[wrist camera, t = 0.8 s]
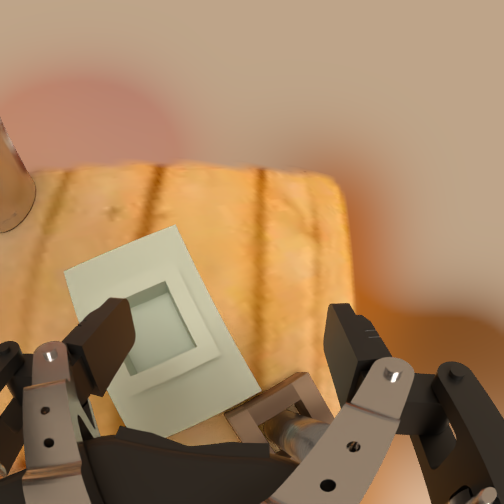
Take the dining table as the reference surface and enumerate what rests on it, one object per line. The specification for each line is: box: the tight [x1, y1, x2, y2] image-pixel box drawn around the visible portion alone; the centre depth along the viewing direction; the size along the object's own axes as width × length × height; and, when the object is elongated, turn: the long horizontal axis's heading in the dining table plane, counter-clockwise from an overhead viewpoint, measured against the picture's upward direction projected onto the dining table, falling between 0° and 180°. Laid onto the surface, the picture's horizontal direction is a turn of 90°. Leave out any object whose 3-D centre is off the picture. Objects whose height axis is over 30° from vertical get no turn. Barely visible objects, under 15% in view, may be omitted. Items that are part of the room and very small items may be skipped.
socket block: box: [224, 372, 334, 463], centre depth 24 cm, size 9×9×3 cm
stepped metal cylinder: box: [263, 410, 330, 463], centre depth 19 cm, size 4×4×14 cm
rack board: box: [64, 225, 262, 438], centre depth 24 cm, size 20×14×5 cm
